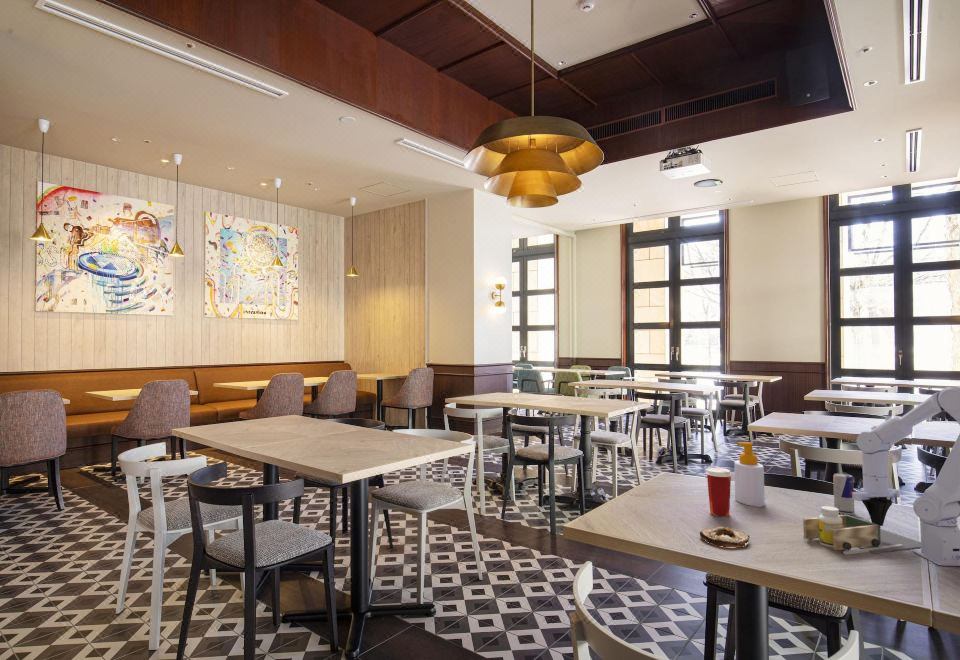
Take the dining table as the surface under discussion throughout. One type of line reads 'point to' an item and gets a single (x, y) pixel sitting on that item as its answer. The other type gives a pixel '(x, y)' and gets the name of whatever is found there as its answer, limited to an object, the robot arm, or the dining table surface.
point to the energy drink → (843, 493)
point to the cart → (847, 532)
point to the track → (887, 544)
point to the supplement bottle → (828, 524)
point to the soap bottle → (749, 478)
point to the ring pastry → (724, 536)
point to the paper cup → (719, 490)
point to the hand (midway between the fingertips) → (877, 525)
